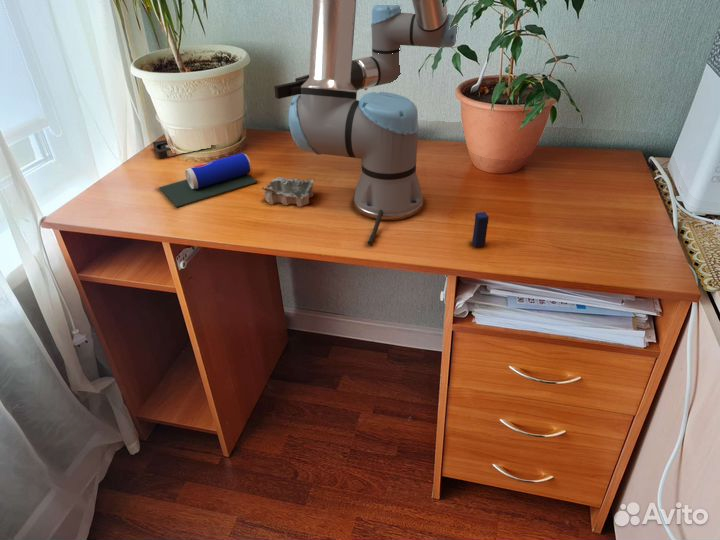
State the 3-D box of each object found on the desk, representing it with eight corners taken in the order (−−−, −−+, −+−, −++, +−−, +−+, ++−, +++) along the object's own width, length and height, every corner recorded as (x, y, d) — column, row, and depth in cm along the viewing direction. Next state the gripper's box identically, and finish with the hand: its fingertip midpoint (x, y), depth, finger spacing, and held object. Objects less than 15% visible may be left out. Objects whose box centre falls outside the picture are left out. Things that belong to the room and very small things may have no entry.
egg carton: (261, 204, 118) (259, 187, 116) (274, 189, 124) (272, 173, 122) (306, 208, 116) (304, 191, 113) (317, 193, 122) (315, 177, 119)
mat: (236, 166, 135) (235, 165, 134) (257, 183, 127) (256, 181, 126) (159, 188, 125) (159, 187, 125) (176, 207, 117) (176, 206, 117)
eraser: (482, 241, 103) (485, 210, 99) (485, 247, 101) (489, 216, 97) (471, 242, 103) (474, 211, 99) (474, 248, 101) (478, 217, 97)
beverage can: (245, 149, 127) (186, 165, 120) (254, 168, 127) (195, 185, 120) (241, 157, 132) (183, 173, 125) (249, 175, 132) (192, 193, 125)
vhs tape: (159, 159, 140) (157, 152, 139) (154, 149, 146) (152, 142, 145) (212, 148, 145) (210, 141, 144) (205, 139, 151) (203, 132, 150)
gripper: (371, 95, 134) (291, 115, 123) (343, 84, 143) (265, 101, 132) (371, 64, 130) (287, 82, 119) (341, 55, 138) (261, 70, 127)
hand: (276, 92), depth 125 cm, fingers closed
